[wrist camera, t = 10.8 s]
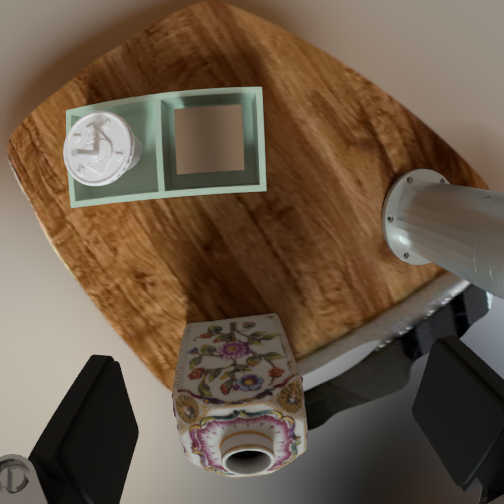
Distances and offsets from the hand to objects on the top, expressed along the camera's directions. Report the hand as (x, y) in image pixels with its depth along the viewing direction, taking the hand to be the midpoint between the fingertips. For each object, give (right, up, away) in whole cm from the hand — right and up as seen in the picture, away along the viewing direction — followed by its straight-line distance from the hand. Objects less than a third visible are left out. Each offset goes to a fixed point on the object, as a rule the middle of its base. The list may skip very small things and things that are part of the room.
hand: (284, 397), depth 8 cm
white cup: (-14, +15, +24) cm, 31 cm away
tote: (-10, +15, +24) cm, 31 cm away
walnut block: (-5, +16, +24) cm, 29 cm away
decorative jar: (-3, -9, +32) cm, 33 cm away
